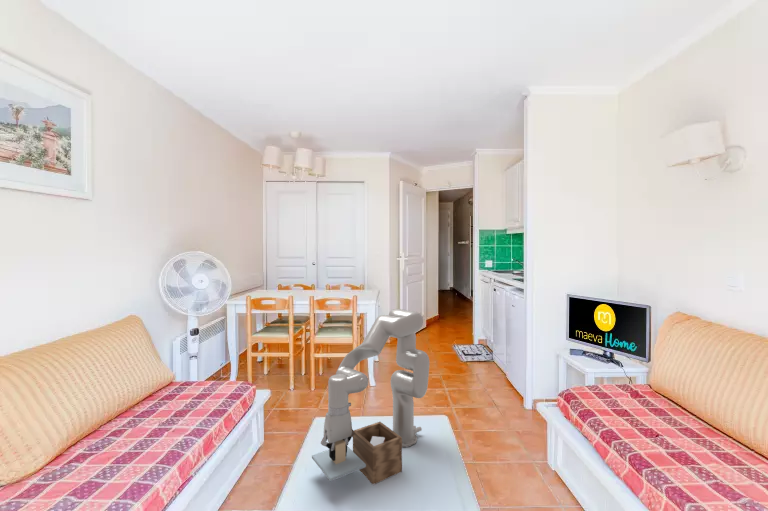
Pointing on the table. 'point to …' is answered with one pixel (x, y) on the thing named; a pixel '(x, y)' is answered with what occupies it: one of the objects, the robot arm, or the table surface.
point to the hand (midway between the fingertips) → (338, 456)
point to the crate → (378, 452)
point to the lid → (338, 461)
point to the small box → (377, 440)
